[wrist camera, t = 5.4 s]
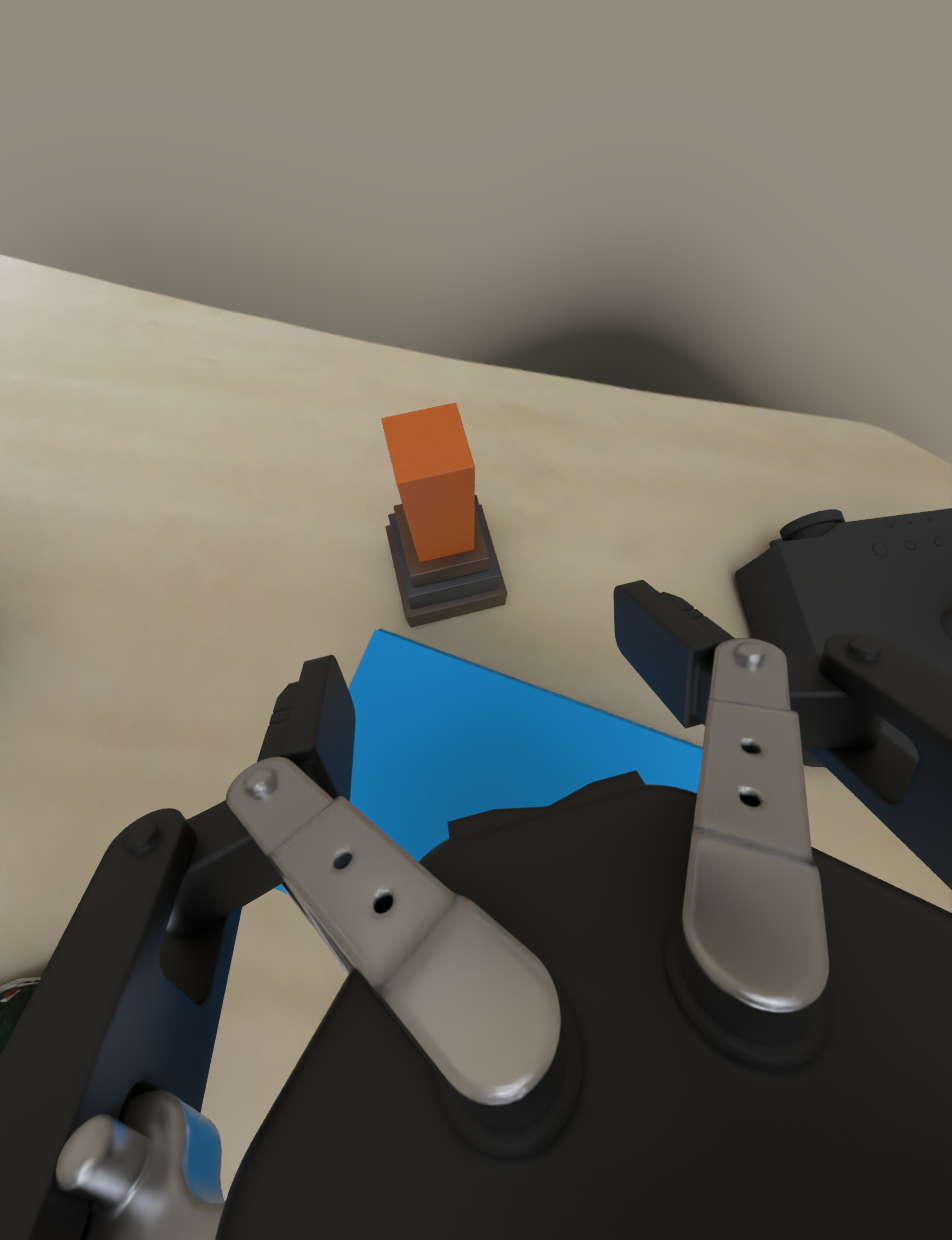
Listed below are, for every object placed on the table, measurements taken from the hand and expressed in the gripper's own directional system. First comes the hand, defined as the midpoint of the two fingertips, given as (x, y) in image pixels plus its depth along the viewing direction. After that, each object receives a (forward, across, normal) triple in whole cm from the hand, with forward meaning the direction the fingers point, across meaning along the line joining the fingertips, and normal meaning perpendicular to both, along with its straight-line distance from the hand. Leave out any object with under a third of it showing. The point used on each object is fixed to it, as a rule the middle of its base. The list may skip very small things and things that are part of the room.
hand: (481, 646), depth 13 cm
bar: (+18, 0, +2) cm, 18 cm away
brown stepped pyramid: (+23, 0, +7) cm, 24 cm away
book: (+10, 0, +20) cm, 23 cm away
